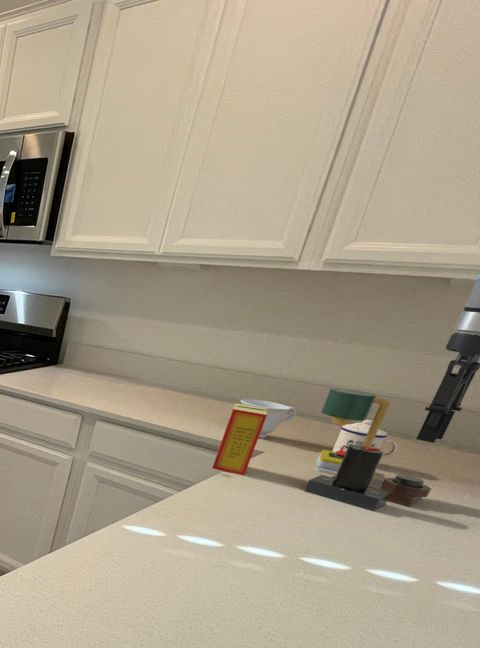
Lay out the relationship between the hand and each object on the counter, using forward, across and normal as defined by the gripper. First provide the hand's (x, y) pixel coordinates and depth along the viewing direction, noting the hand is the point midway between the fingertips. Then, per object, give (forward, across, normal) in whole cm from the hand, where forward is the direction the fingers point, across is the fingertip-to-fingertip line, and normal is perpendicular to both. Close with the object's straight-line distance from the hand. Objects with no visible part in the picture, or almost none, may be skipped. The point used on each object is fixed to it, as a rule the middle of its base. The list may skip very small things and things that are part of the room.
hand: (429, 438), depth 130 cm
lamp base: (+15, 0, +4) cm, 15 cm away
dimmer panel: (+15, -13, +6) cm, 21 cm away
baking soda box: (+15, -15, +28) cm, 36 cm away
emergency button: (+15, +14, +14) cm, 25 cm away
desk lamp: (+11, 0, +13) cm, 17 cm away
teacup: (+15, +32, +38) cm, 52 cm away
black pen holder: (+12, -13, +6) cm, 19 cm away
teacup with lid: (+15, +29, +14) cm, 36 cm away
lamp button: (+11, 0, 0) cm, 11 cm away
